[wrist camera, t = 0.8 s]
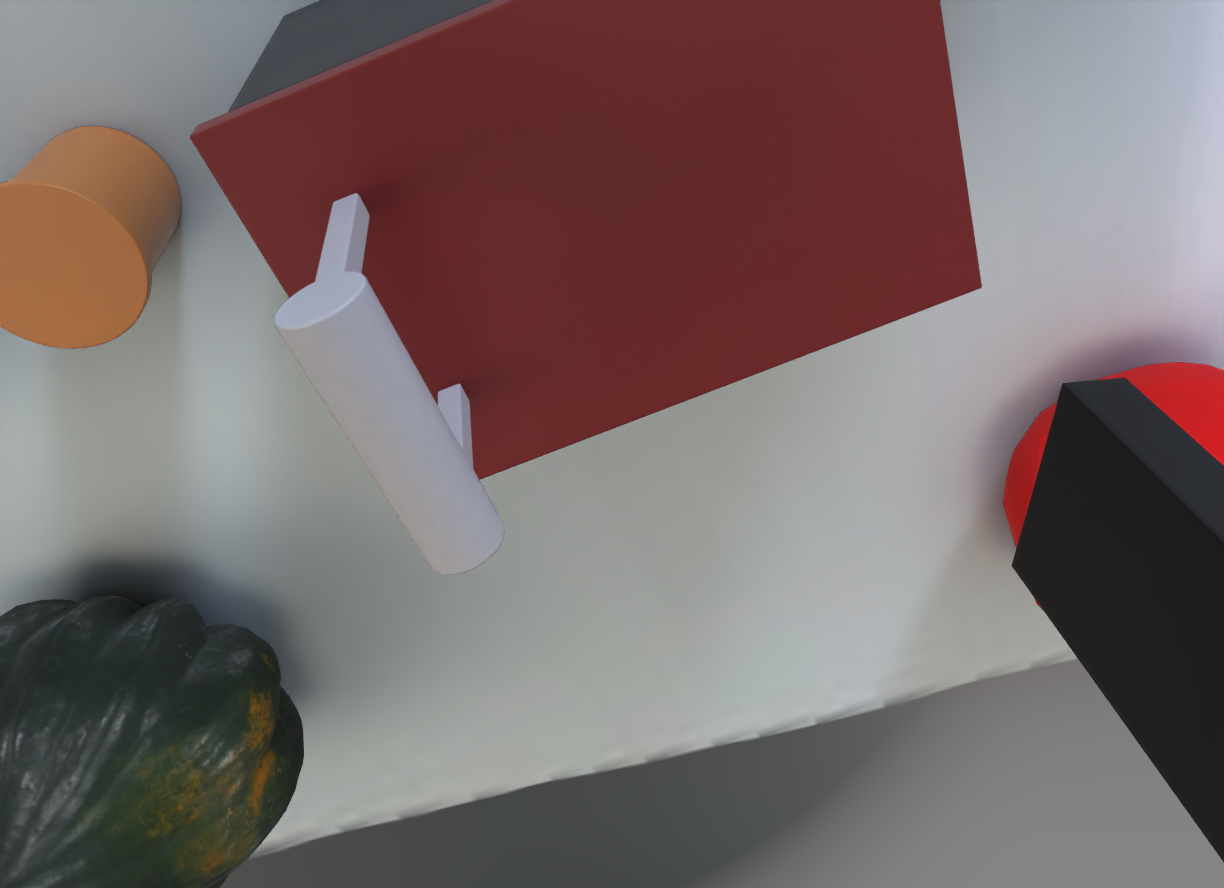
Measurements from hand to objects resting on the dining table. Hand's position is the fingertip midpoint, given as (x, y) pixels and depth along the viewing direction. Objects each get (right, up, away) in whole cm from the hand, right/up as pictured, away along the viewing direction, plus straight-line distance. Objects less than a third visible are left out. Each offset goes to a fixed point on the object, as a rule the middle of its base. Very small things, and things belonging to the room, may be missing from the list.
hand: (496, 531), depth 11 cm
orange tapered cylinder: (-17, +10, +24) cm, 31 cm away
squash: (-21, -9, +37) cm, 43 cm away
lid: (+2, +7, +16) cm, 17 cm away
